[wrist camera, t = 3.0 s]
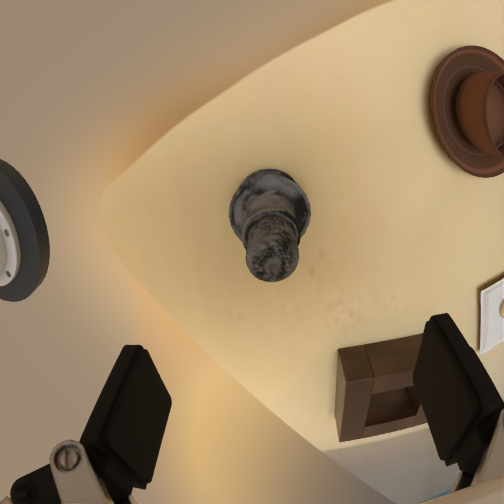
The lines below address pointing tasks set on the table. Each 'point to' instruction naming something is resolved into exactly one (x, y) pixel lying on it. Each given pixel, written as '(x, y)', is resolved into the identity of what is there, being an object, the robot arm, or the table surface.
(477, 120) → the cup and saucer
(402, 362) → the holder
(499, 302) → the dessert
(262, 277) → the chess piece
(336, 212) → the table surface
